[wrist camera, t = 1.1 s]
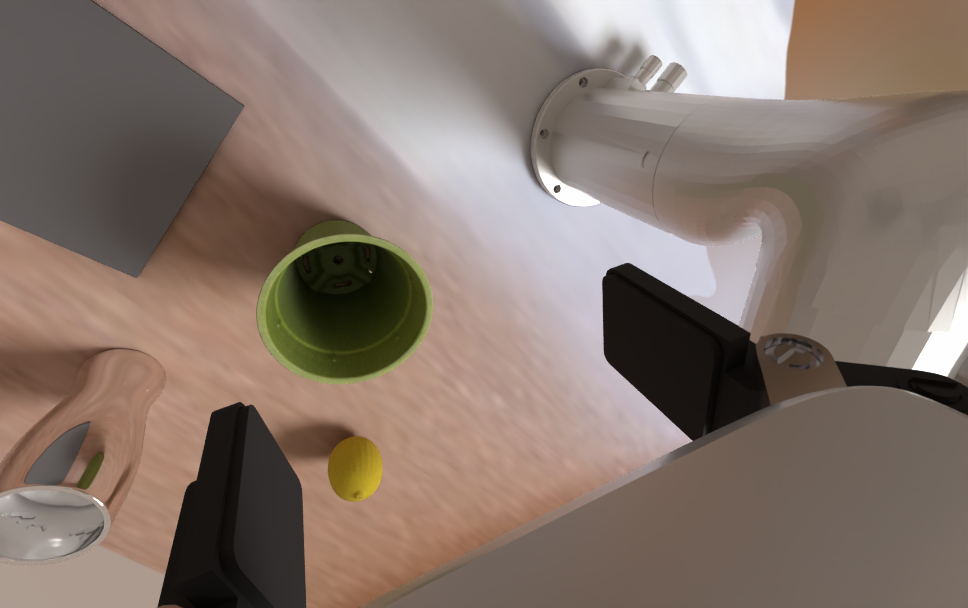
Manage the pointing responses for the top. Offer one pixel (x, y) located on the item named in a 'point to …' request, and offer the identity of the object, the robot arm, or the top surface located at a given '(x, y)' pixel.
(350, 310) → the plant pot
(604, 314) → the robot arm
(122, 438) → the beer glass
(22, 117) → the rubber mat
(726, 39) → the top surface
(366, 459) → the lemon
